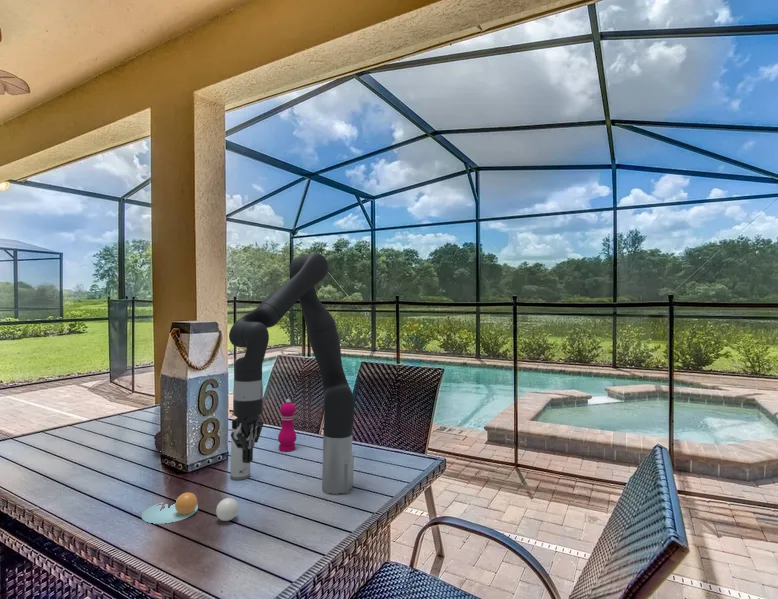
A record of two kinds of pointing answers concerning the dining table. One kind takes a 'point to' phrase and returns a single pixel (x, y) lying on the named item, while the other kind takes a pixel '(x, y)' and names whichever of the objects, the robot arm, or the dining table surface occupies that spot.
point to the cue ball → (227, 509)
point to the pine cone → (158, 441)
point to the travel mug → (238, 460)
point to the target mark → (164, 514)
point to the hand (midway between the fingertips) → (247, 461)
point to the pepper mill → (287, 427)
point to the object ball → (186, 503)
